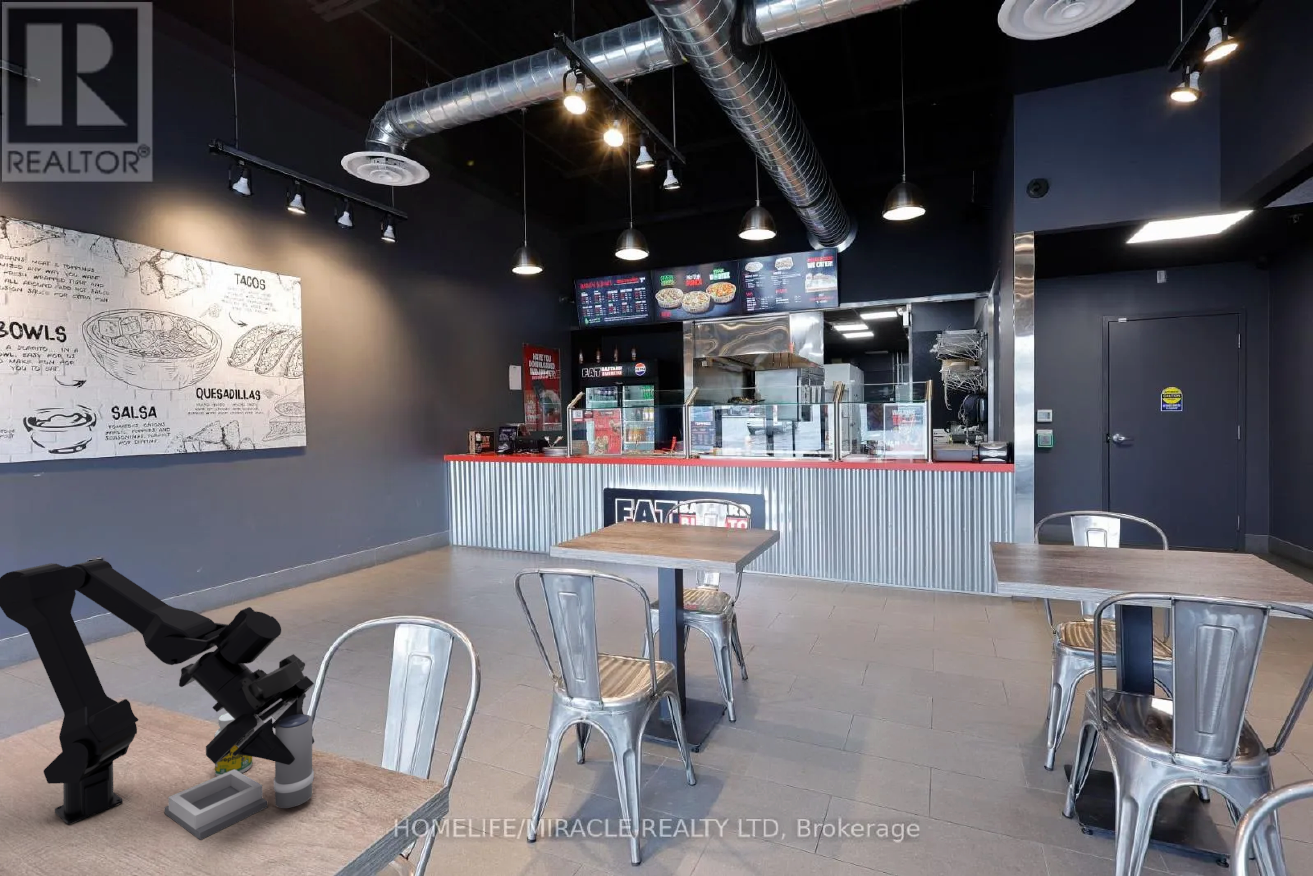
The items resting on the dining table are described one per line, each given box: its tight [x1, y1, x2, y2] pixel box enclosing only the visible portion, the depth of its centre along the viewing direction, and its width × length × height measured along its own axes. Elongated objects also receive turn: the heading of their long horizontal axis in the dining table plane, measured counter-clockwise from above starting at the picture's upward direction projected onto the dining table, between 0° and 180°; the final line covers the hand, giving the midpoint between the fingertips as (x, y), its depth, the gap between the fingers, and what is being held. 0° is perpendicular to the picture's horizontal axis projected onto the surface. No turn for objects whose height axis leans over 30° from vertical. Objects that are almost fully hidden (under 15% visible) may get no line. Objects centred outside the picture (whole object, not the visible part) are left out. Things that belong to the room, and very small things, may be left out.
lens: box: [273, 713, 315, 809], centre depth 95 cm, size 5×5×12 cm
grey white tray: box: [164, 769, 268, 841], centre depth 94 cm, size 12×9×3 cm
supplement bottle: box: [213, 712, 253, 777], centre depth 106 cm, size 5×5×10 cm
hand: (302, 753), depth 95 cm, fingers closed on lens, 5 cm apart
